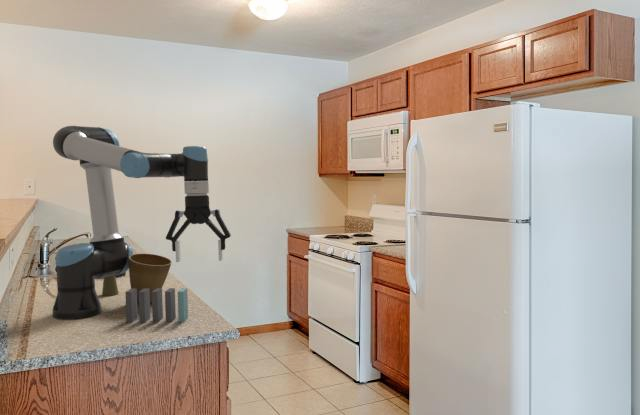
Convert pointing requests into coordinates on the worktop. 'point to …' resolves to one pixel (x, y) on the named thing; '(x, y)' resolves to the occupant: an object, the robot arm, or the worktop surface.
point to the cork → (109, 286)
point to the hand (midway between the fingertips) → (199, 260)
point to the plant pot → (148, 272)
